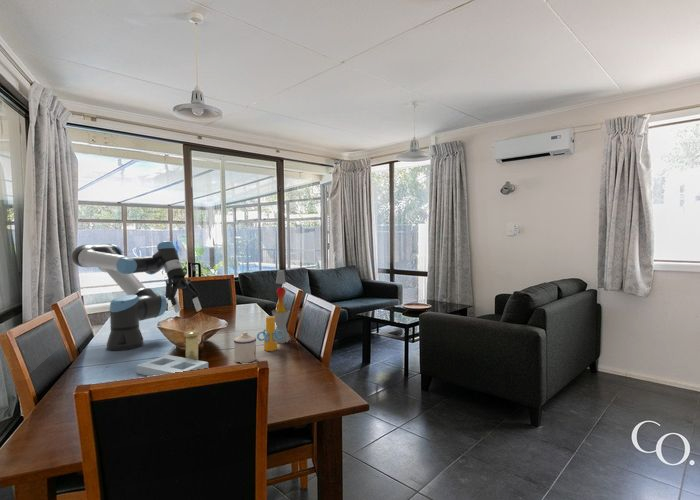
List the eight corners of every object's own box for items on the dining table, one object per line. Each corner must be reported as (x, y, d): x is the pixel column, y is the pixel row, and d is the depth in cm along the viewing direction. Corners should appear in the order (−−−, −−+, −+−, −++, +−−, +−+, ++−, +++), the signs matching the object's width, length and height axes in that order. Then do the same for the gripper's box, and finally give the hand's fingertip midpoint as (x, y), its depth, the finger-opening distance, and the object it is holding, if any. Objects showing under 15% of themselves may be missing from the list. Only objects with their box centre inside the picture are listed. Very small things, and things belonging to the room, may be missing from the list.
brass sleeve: (180, 362, 157) (180, 333, 156) (192, 357, 162) (192, 330, 162) (191, 364, 154) (191, 335, 154) (203, 359, 160) (202, 331, 159)
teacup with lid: (259, 360, 159) (259, 333, 158) (238, 365, 153) (238, 336, 153) (249, 353, 168) (248, 327, 168) (228, 357, 163) (228, 330, 163)
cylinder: (276, 354, 167) (276, 320, 167) (254, 352, 170) (253, 319, 169) (286, 346, 179) (286, 314, 179) (265, 345, 182) (265, 313, 181)
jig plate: (136, 373, 144) (136, 365, 144) (168, 362, 157) (168, 354, 157) (178, 382, 135) (178, 374, 135) (208, 369, 148) (208, 362, 148)
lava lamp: (293, 341, 188) (293, 270, 186) (276, 344, 183) (275, 271, 181) (285, 337, 195) (285, 269, 194) (269, 340, 190) (268, 270, 189)
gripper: (160, 265, 171) (175, 308, 165) (198, 268, 194) (212, 306, 189) (147, 273, 172) (162, 315, 167) (187, 275, 196) (201, 313, 191)
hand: (189, 310), depth 178 cm, fingers open, 13 cm apart
